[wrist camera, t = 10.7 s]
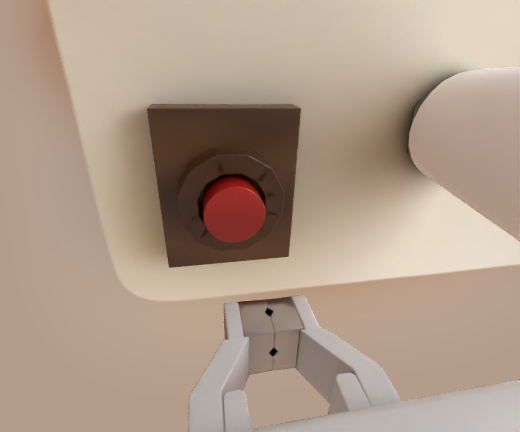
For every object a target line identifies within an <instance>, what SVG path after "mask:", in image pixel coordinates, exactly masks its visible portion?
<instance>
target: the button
mask: <svg viewBox="0 0 520 432" xmlns="http://www.w3.org/2000/svg"><path fill="white" fill-rule="evenodd" d="M203 218H204V223H205V226H206V228H207V230H208V231H209V232H210V233H211V234H212V235H213V236H214V237H216V238H217V239H219V240H222V241H225V242H241V241H244V240H247V239H249V238H251V237H252V236H254V235H255V234H256V233H257V232H258V231H259V230H260V228H261V227H262V225H263V223H264V220H265V206H264V203H263V201H262V199H261V197H260V195H259V193H258V191H257V189H256V188H255V186H254V185H253V184H252V183H250V182H249V181H247V180H245V179H243V178H239V177H226V178H223V179H220V180H218V181H216V182H215V183H213V184H212V185H211V186H210V187H209V188H208V190H207V191H206V193H205V195H204V198H203Z"/></svg>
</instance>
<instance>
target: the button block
mask: <svg viewBox="0 0 520 432" xmlns="http://www.w3.org/2000/svg"><path fill="white" fill-rule="evenodd" d="M147 111H148V118H149V125H150V132H151V140H152V147H153V154H154V162H155V169H156V176H157V184H158V191H159V198H160V206H161V213H162V220H163V227H164V235H165V242H166V249H167V257H168V264H169V267H181V266H192V265H203V264H214V263H225V262H236V261H247V260H258V259H268V258H279V257H288V256H289V246H290V234H291V222H292V210H293V198H294V186H295V174H296V161H297V149H298V137H299V125H300V113H301V108H299V107H297V106H294V105H215V104H152V105H150V107H149V108H148V109H147ZM226 177H239V178H243V179H245V180H247V181H249V182H250V183H252V184H253V185H254V186H255V188H256V189H257V191H258V193H259V195H260V197H261V199H262V201H263V203H264V206H265V220H264V223H263V225H262V227H261V228H260V230H259V231H258V232H257V233H256V234H255V235H254V236H252V237H251V238H249V239H247V240H244V241H241V242H225V241H222V240H219V239H217V238H216V237H214V236H213V235H212V234H211V233H210V232H209V231H208V230H207V228H206V226H205V223H204V218H203V198H204V195H205V193H206V191H207V190H208V188H209V187H210V186H211V185H212V184H213V183H215V182H216V181H218V180H220V179H223V178H226Z"/></svg>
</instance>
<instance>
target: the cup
mask: <svg viewBox="0 0 520 432" xmlns="http://www.w3.org/2000/svg"><path fill="white" fill-rule="evenodd" d="M407 152H408V155H409V157H410V159H411V161H412V162H413V163H414V164H415V166H416V167H417V168H418V169H419V170H420V171H421V172H422V173H423V174H425V175H426V176H427V177H429V178H430V179H431V180H433V181H434V182H436V183H437V184H439V185H440V186H441V187H443V188H444V189H446V190H447V191H449V192H450V193H451V194H453V195H454V196H456V197H457V198H459V199H460V200H461V201H463V202H464V203H466V204H467V205H469V206H470V207H471V208H473V209H474V210H476V211H477V212H479V213H480V214H481V215H483V216H484V217H486V218H487V219H489V220H490V221H491V222H493V223H494V224H496V225H497V226H499V227H500V228H501V229H503V230H504V231H506V232H507V233H509V234H510V235H511V236H513V237H514V238H516V239H517V240H518V241H520V66H515V67H503V68H490V69H478V70H470V71H464V72H460V73H458V74H456V75H454V76H452V77H450V78H448V79H446V80H444V81H443V82H442V83H440V84H439V85H438V86H437V87H436V88H435V89H434V90H433V91H431V92H430V93H429V94H427V95H426V96H425V97H424V98H423V99H422V100H420V101H419V102H418V103H417V105H416V106H415V108H414V116H413V120H412V127H411V130H410V133H409V145H408V150H407Z"/></svg>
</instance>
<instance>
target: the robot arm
mask: <svg viewBox="0 0 520 432" xmlns="http://www.w3.org/2000/svg"><path fill="white" fill-rule="evenodd" d="M224 329H225V340H223V342H222V343H221V345H220V347H219V348H218V350H217V352H216V353H215V355H214V356H213V358H212V360H211V361H210V363H209V364H208V366H207V368H206V369H205V371H204V373H203V375H202V376H201V378H200V379H199V381H198V382H197V384H196V386H195V387H194V389H193V390H192V392H191V394H190V395H189V405H188V432H520V380H514V381H509V382H503V383H498V384H493V385H487V386H481V387H477V388H471V389H465V390H460V391H454V392H449V393H443V394H438V395H433V396H427V397H421V398H416V399H411V400H405V401H402V400H401V399H400V397H399V395H398V393H397V392H396V390H395V388H394V387H393V385H392V384H391V382H390V380H389V379H388V377H387V375H386V374H385V372H384V370H383V369H382V367H381V366H380V365H378V364H377V363H376V362H374V361H373V360H371V359H370V358H368V357H367V356H365V355H364V354H362V353H361V352H359V351H358V350H356V349H355V348H354V347H352V346H351V345H349V344H348V343H346V342H345V341H343V340H342V339H340V338H339V337H338V336H336V335H335V334H333V333H332V332H330V331H329V330H327V329H326V328H324V327H319V325H318V323H317V320H316V318H315V316H314V314H313V312H312V310H311V308H310V305H309V303H308V301H307V299H306V297H305V296H304V295H297V296H290V297H282V298H274V299H265V300H255V301H244V302H236V303H224ZM289 368H296V369H297V370H298V371H299V372H300V373H301V375H302V376H304V378H305V379H306V380H307V381H308V382H309V383H310V384H311V385H312V386H313V387H314V388H315V389H316V390H317V391H318V392H319V393H320V394H321V395H322V396H323V397H324V398H325V399H326V400H327V401H328V402H329V403H330V406H329V411H328V415H324V416H319V417H313V418H308V419H302V420H297V421H291V422H286V423H281V424H275V425H269V426H264V427H259V428H253V429H252V428H251V422H250V416H249V409H248V403H247V397H246V393H245V392H243V389H244V387H245V384H246V382H247V379H248V377H249V375H250V374H256V373H261V372H267V371H272V370H281V369H289Z"/></svg>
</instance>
